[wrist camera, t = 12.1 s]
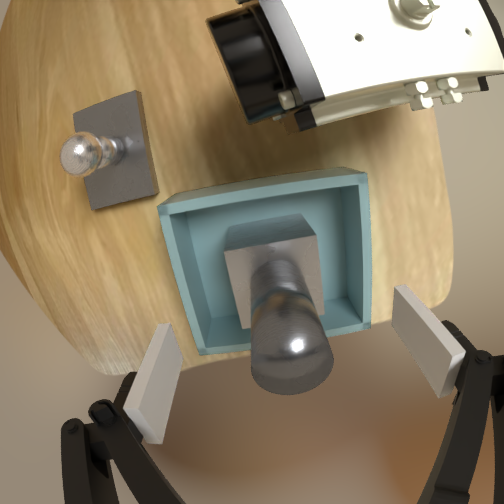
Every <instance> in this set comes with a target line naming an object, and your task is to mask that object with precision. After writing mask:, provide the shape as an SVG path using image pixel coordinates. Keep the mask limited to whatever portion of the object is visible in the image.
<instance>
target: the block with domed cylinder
mask: <svg viewBox="0 0 504 504" xmlns="http://www.w3.org/2000/svg"><path fill="white" fill-rule="evenodd" d="M224 255H225V260H226V264H227V268H228V272H229V277H230V281H231V285H232V289H233V293H234V297H235V301H236V305H237V310H238V314H239V318H240V322H241V326H242V329H246V328H251V372H252V376H253V378H254V380H255V381H256V383H257V384H258V385H259V386H260V387H262V388H263V389H265V390H267V391H269V392H271V393H275V394H280V395H294V394H300V393H303V392H307V391H309V390H311V389H313V388H315V387H317V386H318V385H320V384H321V383H322V382H323V381H324V380H325V379H326V378H327V377H328V376H329V374H330V372H331V370H332V368H333V363H334V358H333V354H332V351H331V348H330V345H329V343H328V340H327V337H326V334H325V332H324V329H323V326H322V323H321V321H320V318H319V315H324V314H325V311H324V299H323V288H322V278H321V268H320V259H319V250H318V241H317V235H316V233H315V232H314V230H313V229H312V228H311V226H310V225H309V224H308V222H307V221H306V220H305V218H304V217H303V215H302V214H301V213H297V214H291V215H286V216H280V217H274V218H269V219H263V220H258V221H252V222H247V223H241V224H236V225H231V226H230V227H229V231H228V235H227V239H226V244H225V248H224Z"/></svg>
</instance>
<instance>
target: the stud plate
mask: <svg viewBox="0 0 504 504" xmlns="http://www.w3.org/2000/svg"><path fill="white" fill-rule="evenodd" d="M73 118H74V125H75V132H76V133H74V134H72V135H71V136H70V137H68V138H67V139H66V141H65V142H64V143H63V145H62V147H61V150H60V163H61V166H62V168H63V169H64V171H65V172H66V173H67V174H69V175H71V176H73V177H77V178H81V177H84V180H85V185H86V189H87V193H88V198H89V202H90V206H91V210H94V209H98V208H102V207H106V206H110V205H113V204H117V203H121V202H125V201H129V200H133V199H138V198H142V197H146V196H150V195H155V194H157V193H158V192H159V187H158V183H157V178H156V173H155V168H154V163H153V158H152V153H151V148H150V143H149V137H148V132H147V126H146V120H145V114H144V108H143V102H142V95H141V92H139V91H136V90H134V91H131V92H128V93H125V94H122V95H120V96H117V97H114V98H111V99H108V100H106V101H103V102H101V103H98V104H95V105H93V106H90V107H88V108H85V109H83V110H81V111H78V112H76V113H74V114H73Z"/></svg>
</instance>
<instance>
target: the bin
mask: <svg viewBox="0 0 504 504" xmlns="http://www.w3.org/2000/svg"><path fill="white" fill-rule="evenodd" d="M157 209H158V213H159V217H160V222H161V226H162V230H163V234H164V238H165V242H166V245H167V249H168V253H169V257H170V260H171V264H172V268H173V271H174V275H175V278H176V282H177V285H178V289H179V292H180V296H181V299H182V302H183V306H184V309H185V312H186V315H187V319H188V322H189V325H190V328H191V331H192V334H193V337H194V340H195V343H196V346H197V349H198V352H199V355H210V354H220V353H229V352H237V351H246V350H251V328H246V329H242V326H241V322H240V318H239V314H238V310H237V305H236V301H235V297H234V293H233V289H232V285H231V281H230V277H229V272H228V268H227V264H226V260H225V255H224V248H225V244H226V239H227V235H228V231H229V227H230V226H231V225H236V224H241V223H247V222H252V221H258V220H263V219H269V218H274V217H280V216H286V215H291V214H297V213H301V214H302V215H303V217H304V218H305V220H306V221H307V222H308V224H309V225H310V226H311V228H312V229H313V230H314V232H315V233H316V235H317V241H318V250H319V259H320V268H321V278H322V288H323V299H324V311H325V314H324V315H319V318H320V321H321V323H322V326H323V329H324V332H325V334H326V337H332V336H337V335H341V334H347V333H351V332H356V331H360V330H365V329H369V328H371V304H372V245H371V220H370V204H369V190H368V179H367V173H365V172H361V171H358V170H354V169H350V168H346V167H338V168H329V169H321V170H313V171H305V172H298V173H290V174H283V175H277V176H270V177H264V178H257V179H251V180H245V181H239V182H234V183H228V184H222V185H217V186H212V187H206V188H201V189H196V190H191V191H186V192H181V193H176V194H174V195H173V196H171V197H170V198H168V199H167V200H166V201H164V202H163V203H161V204H160V205H158V206H157Z"/></svg>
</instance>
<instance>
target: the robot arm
mask: <svg viewBox="0 0 504 504" xmlns="http://www.w3.org/2000/svg"><path fill="white" fill-rule="evenodd" d="M392 326H393V328H394V329H395V331H396V332H397V334H398V335H399V337H400V338H401V340H402V341H403V343H404V344H405V346H406V347H407V349H408V350H409V352H410V353H411V355H412V356H413V358H414V360H415V361H416V363H417V364H418V366H419V367H420V369H421V371H422V372H423V374H424V375H425V377H426V378H427V380H428V382H429V383H430V385H431V387H432V388H433V390H434V392H435V393H436V395H437V397H438V398H441V397H444V396H446V395H449V394H451V392H452V390H453V387H454V385H455V386H456V388H457V389H458V391H457V394H456V396H455V399H454V401H453V409H452V412H451V416H450V419H449V423H448V426H447V429H446V433H445V436H444V439H443V442H442V444H441V447H440V450H439V453H438V456H437V458H436V461H435V463H434V466H433V469H432V471H431V473H430V476H429V478H428V480H427V483H426V485H425V487H424V489H423V492H422V494H421V496H420V498H419V500H418V502H417V504H468V502H469V499H470V495H469V493H468V490H469V487H470V484H471V480H472V477H473V474H474V471H475V467H476V464H477V460H478V456H479V452H480V448H481V444H482V440H483V435H484V430H485V425H486V420H487V414H488V408H489V401H490V400H491V407H492V418H493V429H494V446H495V485H494V503H493V504H504V355H500V356H492V355H491V354H490V353H488V352H487V351H483V350H477V349H476V348H475V347H474V346H473V345H472V344H471V343H470V341H469V340H468V339H467V338H466V337H465V336H463V333H462V332H461V331H459V329H458V328H457V327H456V326H455V325H454V324H453V323H451V322H449V321H447V320H445V321H442V322H440V321H439V320H438V319H437V318H436V316H435V315H434V314H433V313H432V312H431V311H430V310H429V309H428V308H427V307H426V305H425V304H424V303H423V302H422V301H421V300H420V299H419V298H418V297H417V296H416V295H415V294H414V293H413V292H412V290H411V289H410V288H409V287H408V286H407V285H406V284H404V285H400V286H395V287H394V300H393V313H392ZM183 359H184V358H183V356H182V353H181V351H180V348H179V345H178V343H177V340H176V337H175V334H174V332H173V329H172V326H171V323H163V324H158V326H157V328H156V330H155V333H154V335H153V337H152V339H151V342H150V344H149V346H148V349H147V351H146V353H145V356H144V358H143V360H142V363H141V365H140V367H139V370H138V372H130V373H129V374H128V375H127V376H126V377H125V378H124V380H123V382H122V385H121V387H120V389H119V393H117V396H116V398H115V400H114V403H112V402H111V401H110V400H106V399H102V400H99V401H96V402H95V403H93V404H92V405H91V407H90V408H89V411H88V413H89V416H90V418H91V419H92V420H93V422H94V423H90V424H84V423H83V422H82V421H81V420H80V419H77V418H74V419H70V420H68V421H66V422H65V423H64V424H63V426H62V428H61V461H62V478H63V490H64V500H65V504H119V501H118V496H117V492H116V488H115V484H114V479H113V475H112V470H111V465H110V459H113V460H114V462H115V464H116V465H117V468H118V469H119V471H120V473H121V475H122V476H123V478H124V480H125V481H126V483H127V485H128V487H129V489H130V490H131V492H132V493H133V495H134V496H135V498H136V500H137V501H138V503H139V504H186V503H185V502H184V501H183V499H182V498H181V497H180V496H179V495H178V493H177V492H176V491H175V490H174V488H173V487H172V486H171V485H170V483H169V482H168V480H167V479H166V478H165V477H164V475H163V474H162V472H161V471H160V470H159V469H158V467H157V466H156V464H155V463H154V461H153V460H152V459H151V457H150V456H149V454H148V453H147V451H146V450H145V448H144V447H143V445H142V444H141V442H142V438H144V439H145V441H146V442H147V443H148V444H162V443H163V438H164V434H165V430H166V426H167V422H168V417H169V413H170V409H171V405H172V401H173V397H174V393H175V389H176V386H177V382H178V378H179V374H180V370H181V366H182V363H183Z"/></svg>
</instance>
